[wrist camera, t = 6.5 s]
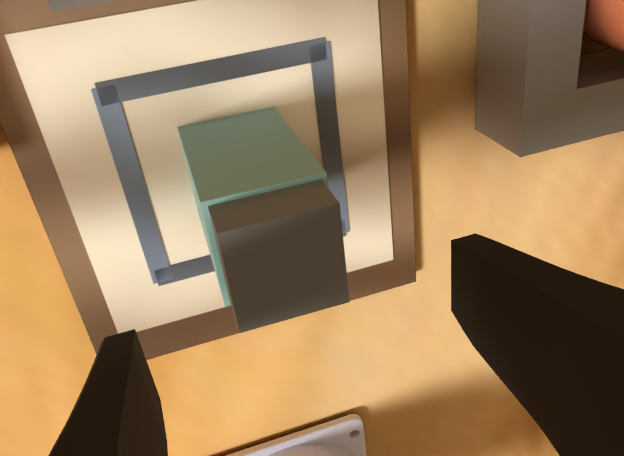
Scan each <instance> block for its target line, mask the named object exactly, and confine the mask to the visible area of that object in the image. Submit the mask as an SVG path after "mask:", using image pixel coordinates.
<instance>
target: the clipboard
mask: <svg viewBox="0 0 624 456" xmlns="http://www.w3.org/2000/svg"><path fill="white" fill-rule="evenodd" d="M270 107H274V108H275V109H276V110H277V111H278V113H279V114H280V115H281V116H282V118H283V119H284V120H285V121H286V123H287V124H288V125H289V126H290V128H291V129H292V130H293V131H294V133H295V134H296V135H297V136H298V138H299V139H300V140H301V141H302V143H303V144H304V145H305V146H306V148H307V149H308V150H309V151H310V153H311V154H312V155H313V156H314V158H315V159H316V160H317V161H318V163H319V164H320V165H321V166H322V168H323V169H324V170H325V171H326V173H327V182H328V189H329V190H330V191H331V193H332V194H333V195H334V196H335V198H336V199H337V200H338V202H339V203H340V211H341V221H342V231H343V241H344V251H345V261H346V271H347V281H348V291H349V301H351V300H354V299H357V298H361V297H364V296H368V295H371V294H375V293H378V292H381V291H385V290H388V289H392V288H395V287H399V286H402V285H406V284H409V283H412V282H416V266H415V239H414V212H413V186H412V159H411V132H410V105H409V79H408V52H407V25H406V0H0V123H1V125H2V127H3V130H4V132H5V135H6V137H7V139H8V142H9V144H10V147H11V149H12V152H13V154H14V156H15V159H16V161H17V164H18V166H19V168H20V171H21V173H22V176H23V178H24V180H25V183H26V185H27V188H28V190H29V192H30V195H31V197H32V200H33V202H34V204H35V207H36V209H37V212H38V214H39V217H40V219H41V221H42V224H43V226H44V229H45V231H46V233H47V236H48V238H49V241H50V243H51V245H52V248H53V250H54V253H55V255H56V257H57V260H58V262H59V265H60V267H61V269H62V272H63V274H64V277H65V279H66V282H67V284H68V286H69V289H70V291H71V294H72V296H73V298H74V301H75V303H76V306H77V308H78V310H79V313H80V315H81V318H82V320H83V322H84V325H85V327H86V330H87V332H88V334H89V337H90V339H91V342H92V344H93V347H94V349H95V351H96V354H97V353H98V350H99V348H100V345H101V343H102V341H103V340H104V338H105V337H108V336H112V335H115V334H119V333H122V332H126V331H129V330H133V329H135V330H136V333H137V336H138V339H139V342H140V344H141V347H142V350H143V353H144V355H145V358H146V360H148V359H151V358H155V357H158V356H161V355H165V354H168V353H172V352H175V351H179V350H182V349H185V348H189V347H192V346H196V345H199V344H203V343H206V342H210V341H213V340H216V339H220V338H223V337H227V336H230V335H234V334H237V333H239V330H238V326H237V323H236V320H235V317H234V313H233V310H232V307H231V305H230V306H226V307H225V304H224V301H223V297H222V294H221V290H220V287H219V283H218V280H217V277H216V273H215V270H214V266H213V263H212V259H211V256H210V252H209V249H208V245H207V242H206V239H205V235H204V232H203V228H202V225H201V221H200V218H199V214H198V210H197V206H196V202H195V198H194V194H193V190H192V186H191V182H190V177H189V173H188V169H187V165H186V161H185V157H184V153H183V149H182V145H181V140H180V136H179V132H178V128H177V127H180V126H185V125H189V124H194V123H199V122H204V121H208V120H213V119H218V118H223V117H227V116H232V115H237V114H242V113H246V112H251V111H256V110H261V109H266V108H270Z"/></svg>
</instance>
